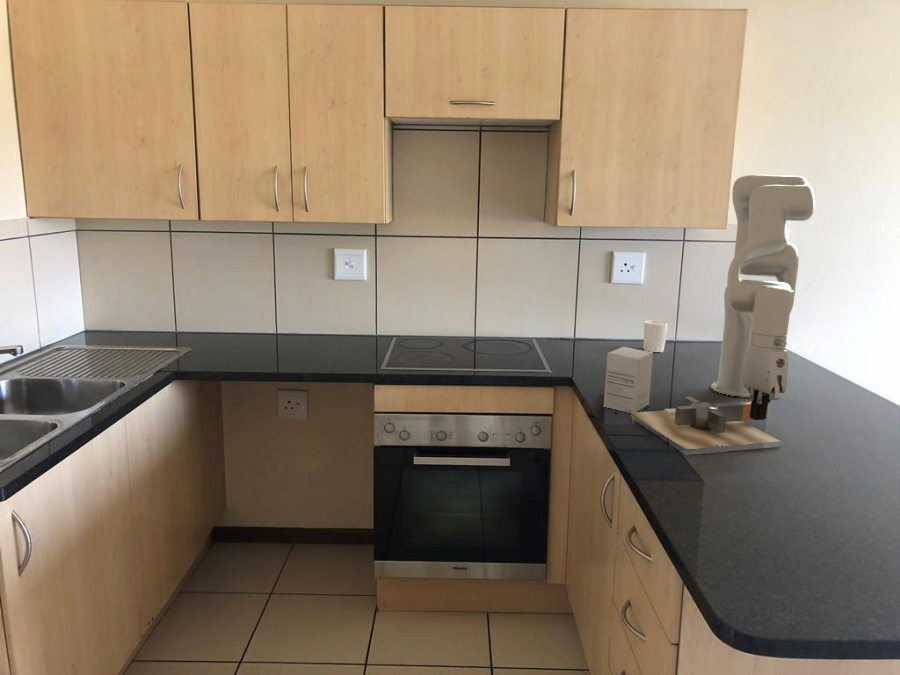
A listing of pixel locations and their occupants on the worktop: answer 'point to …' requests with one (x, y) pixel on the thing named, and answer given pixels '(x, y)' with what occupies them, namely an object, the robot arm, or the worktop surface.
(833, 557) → the worktop surface
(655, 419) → the stand plate
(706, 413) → the capstan
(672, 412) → the level window
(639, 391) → the supplement box
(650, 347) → the white cup
